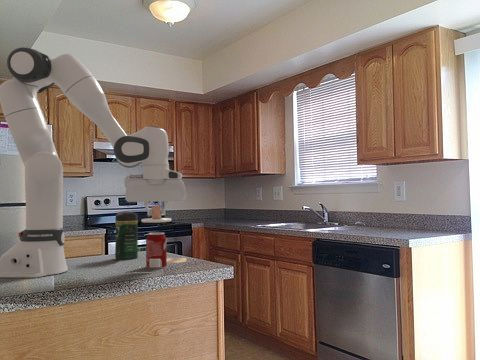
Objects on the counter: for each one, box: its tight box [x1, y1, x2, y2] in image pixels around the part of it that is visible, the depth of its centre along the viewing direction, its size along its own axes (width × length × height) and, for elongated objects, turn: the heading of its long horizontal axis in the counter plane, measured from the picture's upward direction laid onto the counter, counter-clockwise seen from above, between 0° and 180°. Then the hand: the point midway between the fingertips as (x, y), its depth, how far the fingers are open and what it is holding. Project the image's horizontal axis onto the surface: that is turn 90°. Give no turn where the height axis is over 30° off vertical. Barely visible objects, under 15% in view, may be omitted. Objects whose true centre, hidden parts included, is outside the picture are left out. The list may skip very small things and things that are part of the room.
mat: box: [167, 257, 187, 264], centre depth 157 cm, size 10×10×1 cm
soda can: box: [145, 231, 168, 270], centre depth 144 cm, size 7×7×12 cm
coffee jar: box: [114, 210, 139, 261], centre depth 165 cm, size 10×8×19 cm
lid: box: [140, 205, 172, 223], centre depth 144 cm, size 10×10×5 cm
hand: (156, 215), depth 144 cm, fingers closed on lid, 3 cm apart
